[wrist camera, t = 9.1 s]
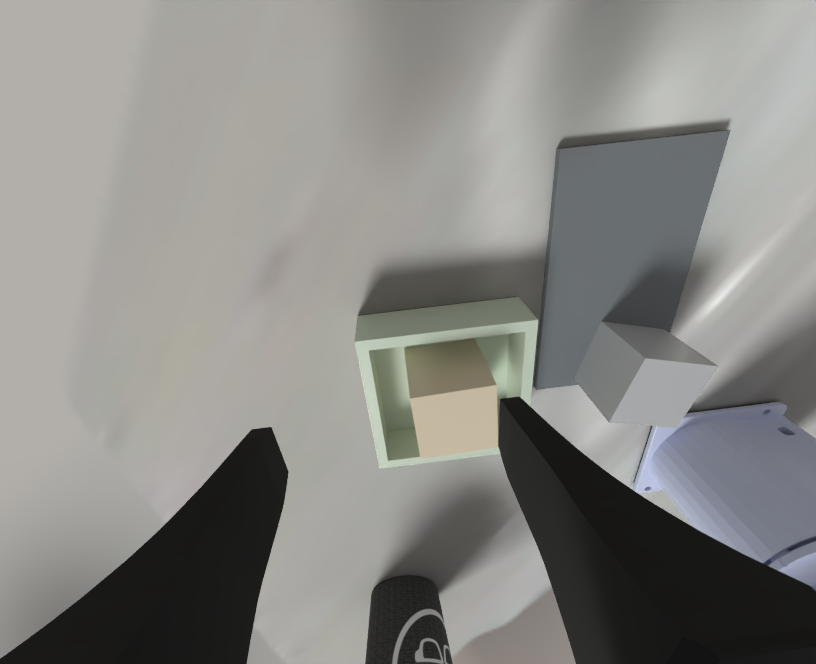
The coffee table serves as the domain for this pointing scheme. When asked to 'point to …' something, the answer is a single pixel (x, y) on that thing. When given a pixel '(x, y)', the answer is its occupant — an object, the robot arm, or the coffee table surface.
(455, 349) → the tan wooden cube
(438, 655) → the coffee cup
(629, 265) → the slate mat
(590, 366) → the matte grey cube
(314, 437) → the coffee table surface
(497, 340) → the green bin
